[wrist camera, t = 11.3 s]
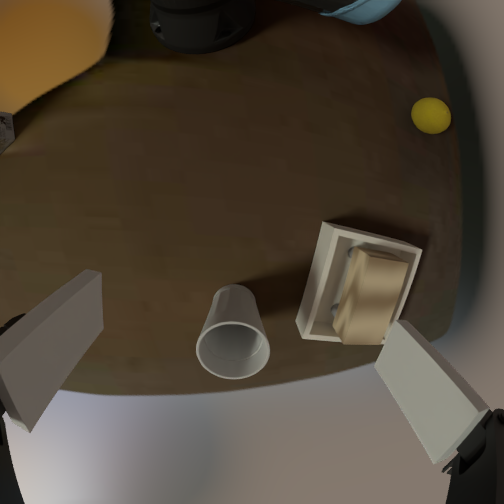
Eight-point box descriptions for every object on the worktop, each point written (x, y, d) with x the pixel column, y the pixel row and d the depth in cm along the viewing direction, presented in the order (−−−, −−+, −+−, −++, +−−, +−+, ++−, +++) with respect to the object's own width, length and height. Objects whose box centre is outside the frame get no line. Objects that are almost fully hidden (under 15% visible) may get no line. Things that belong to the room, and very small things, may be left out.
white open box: (322, 221, 37) (334, 228, 32) (404, 241, 38) (422, 249, 34) (295, 320, 41) (302, 338, 36) (374, 328, 42) (387, 344, 37)
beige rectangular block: (366, 327, 38) (380, 344, 33) (332, 325, 38) (343, 344, 33) (390, 252, 35) (408, 263, 30) (354, 246, 35) (370, 256, 30)
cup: (266, 282, 39) (276, 326, 27) (256, 330, 41) (262, 382, 29) (210, 275, 38) (198, 316, 27) (204, 323, 40) (194, 374, 29)
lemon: (396, 117, 33) (427, 109, 25) (411, 96, 32) (441, 85, 24) (419, 143, 34) (451, 140, 26) (433, 121, 33) (464, 115, 25)
